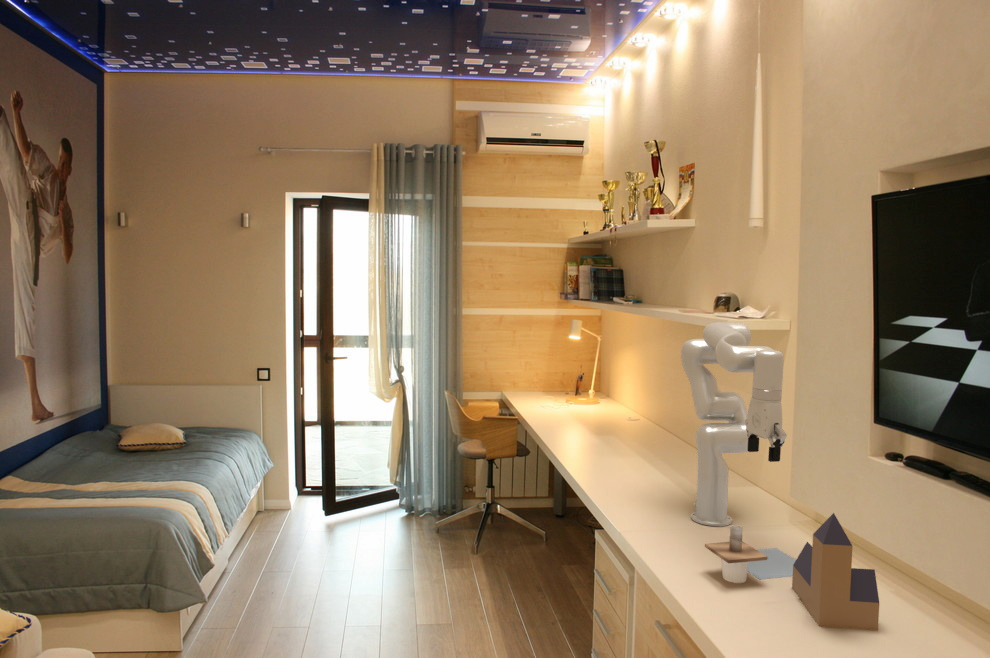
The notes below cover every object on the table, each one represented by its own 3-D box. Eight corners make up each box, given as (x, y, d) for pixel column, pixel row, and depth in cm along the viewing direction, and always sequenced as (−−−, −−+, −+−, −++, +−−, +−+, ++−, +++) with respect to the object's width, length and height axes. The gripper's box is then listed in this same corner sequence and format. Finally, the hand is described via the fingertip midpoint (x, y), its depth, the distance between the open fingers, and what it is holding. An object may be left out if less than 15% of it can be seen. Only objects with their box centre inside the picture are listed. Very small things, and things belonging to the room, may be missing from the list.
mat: (720, 554, 193) (720, 552, 193) (775, 549, 198) (775, 547, 198) (759, 580, 176) (759, 579, 176) (819, 574, 180) (819, 573, 180)
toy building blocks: (818, 626, 153) (824, 516, 151) (791, 589, 171) (796, 491, 170) (877, 630, 151) (883, 519, 150) (844, 592, 170) (849, 494, 168)
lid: (704, 546, 180) (705, 521, 179) (741, 543, 183) (742, 518, 182) (728, 563, 169) (729, 536, 169) (767, 559, 172) (768, 533, 171)
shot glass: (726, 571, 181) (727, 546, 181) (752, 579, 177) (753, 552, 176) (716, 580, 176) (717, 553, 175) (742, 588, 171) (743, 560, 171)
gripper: (736, 389, 195) (733, 448, 196) (773, 401, 178) (770, 465, 179) (760, 389, 196) (757, 447, 198) (799, 400, 179) (795, 464, 181)
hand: (763, 456), depth 189 cm, fingers open, 9 cm apart
